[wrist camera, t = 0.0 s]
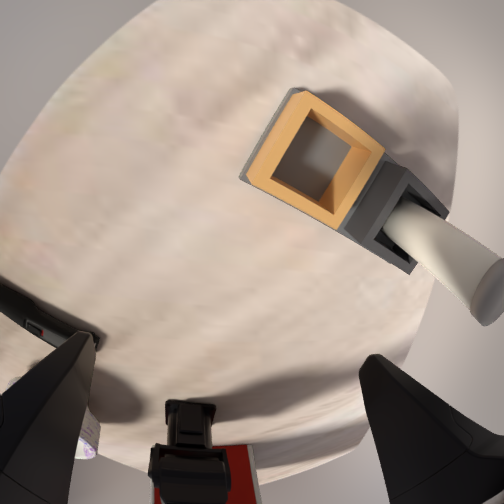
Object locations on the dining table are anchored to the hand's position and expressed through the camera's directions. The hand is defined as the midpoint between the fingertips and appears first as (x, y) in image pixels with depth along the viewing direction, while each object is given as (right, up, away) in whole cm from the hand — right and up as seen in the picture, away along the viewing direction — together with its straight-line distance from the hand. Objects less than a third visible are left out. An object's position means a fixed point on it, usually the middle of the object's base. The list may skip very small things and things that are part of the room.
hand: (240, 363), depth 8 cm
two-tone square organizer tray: (+8, +9, +13) cm, 18 cm away
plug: (+12, +7, +14) cm, 20 cm away
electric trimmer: (-23, -3, +16) cm, 28 cm away
